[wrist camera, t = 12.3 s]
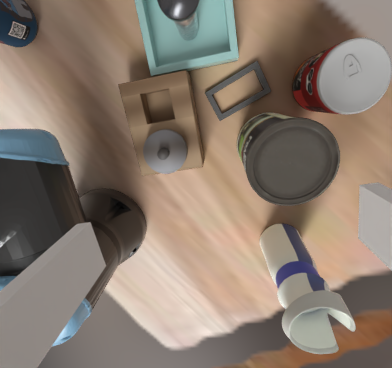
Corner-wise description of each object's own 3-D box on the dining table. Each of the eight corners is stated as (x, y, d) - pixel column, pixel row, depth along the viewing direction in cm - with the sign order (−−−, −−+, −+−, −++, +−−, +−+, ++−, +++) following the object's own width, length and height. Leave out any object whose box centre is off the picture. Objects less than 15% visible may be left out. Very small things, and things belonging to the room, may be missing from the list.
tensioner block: (204, 159, 42) (201, 172, 34) (150, 168, 43) (135, 182, 36) (189, 74, 38) (182, 67, 30) (130, 86, 39) (108, 82, 31)
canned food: (323, 43, 35) (367, 18, 25) (353, 86, 36) (408, 79, 26) (279, 82, 37) (303, 75, 27) (310, 121, 39) (344, 128, 28)
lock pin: (176, 48, 36) (160, 22, 25) (171, 14, 35) (151, -29, 23) (205, 42, 36) (202, 13, 24) (200, 8, 34) (195, -40, 23)
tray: (155, 77, 38) (150, 75, 36) (138, -3, 35) (131, -12, 32) (237, 60, 37) (238, 57, 34) (227, -26, 33) (228, -38, 30)
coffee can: (239, 176, 43) (249, 210, 29) (234, 116, 39) (242, 124, 26) (299, 169, 41) (338, 202, 28) (299, 107, 38) (342, 110, 25)
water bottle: (312, 230, 45) (417, 373, 21) (289, 265, 48) (360, 425, 24) (271, 214, 44) (332, 342, 21) (251, 250, 47) (285, 398, 24)
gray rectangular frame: (219, 120, 40) (219, 121, 39) (205, 93, 38) (204, 92, 38) (270, 91, 38) (271, 91, 37) (256, 61, 36) (257, 60, 36)
